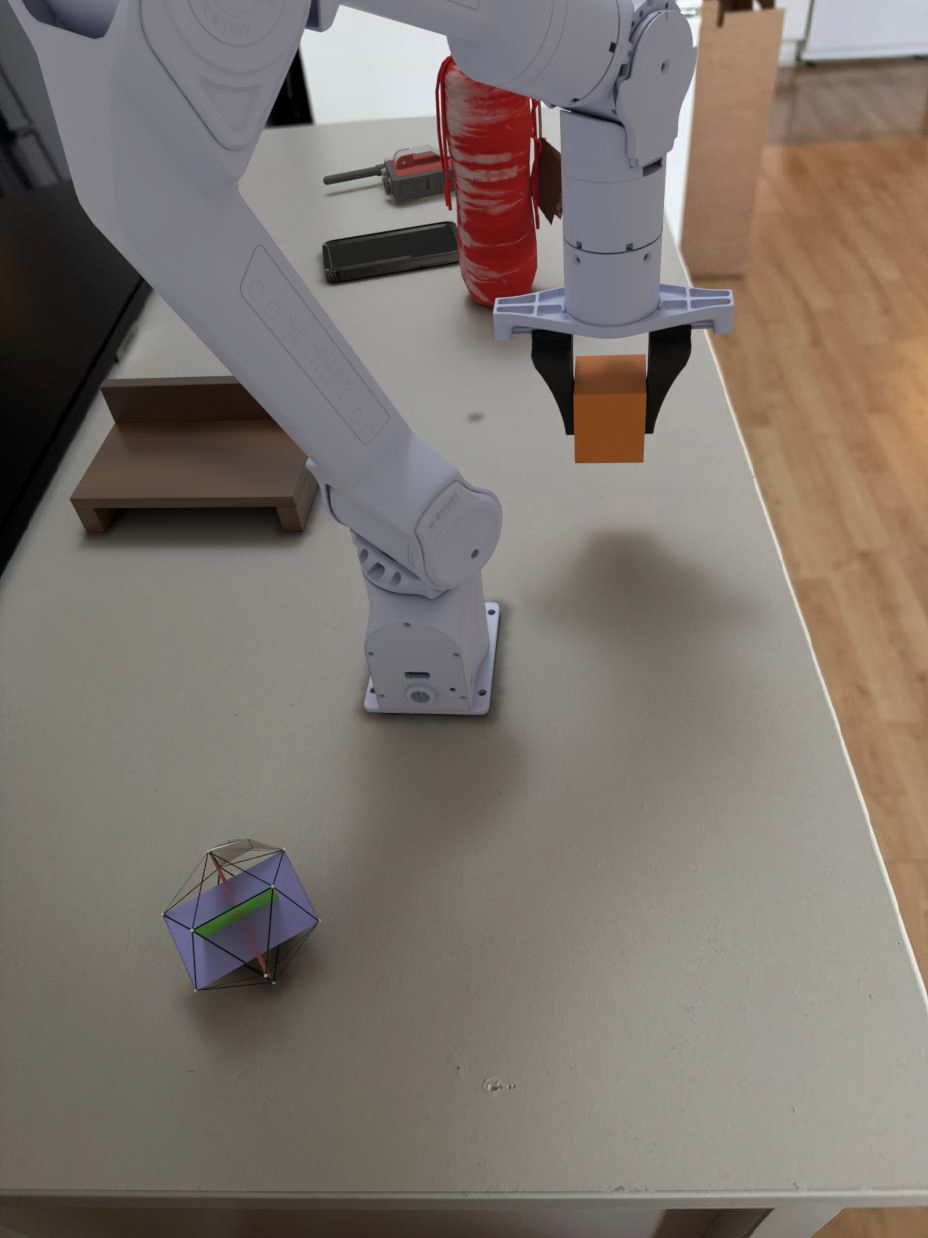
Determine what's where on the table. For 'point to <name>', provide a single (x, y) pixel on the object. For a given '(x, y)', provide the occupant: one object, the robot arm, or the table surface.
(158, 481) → the shelf
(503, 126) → the water bottle
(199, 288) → the robot arm
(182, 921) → the geometric puzzle
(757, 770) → the table surface
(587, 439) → the orange cube-like block
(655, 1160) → the table surface
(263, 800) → the table surface
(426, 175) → the walkie-talkie
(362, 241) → the phone
